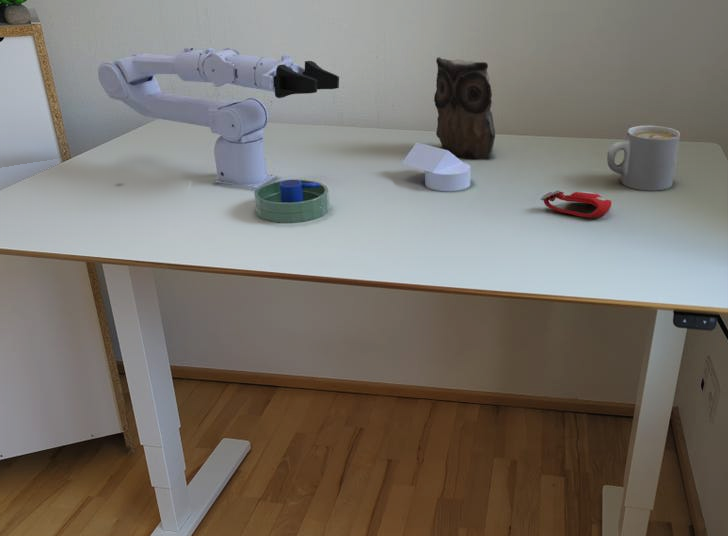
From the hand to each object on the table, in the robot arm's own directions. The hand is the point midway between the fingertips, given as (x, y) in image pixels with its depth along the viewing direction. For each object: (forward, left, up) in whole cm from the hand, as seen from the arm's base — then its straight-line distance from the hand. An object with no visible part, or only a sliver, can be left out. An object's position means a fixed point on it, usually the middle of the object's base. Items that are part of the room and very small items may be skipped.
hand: (327, 84), depth 143 cm
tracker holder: (+45, +9, -21) cm, 51 cm away
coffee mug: (+53, +29, -21) cm, 64 cm away
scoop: (-1, -10, -20) cm, 23 cm away
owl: (+15, +37, -21) cm, 45 cm away
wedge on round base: (+16, +15, -21) cm, 30 cm away
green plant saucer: (-3, -11, -21) cm, 24 cm away
